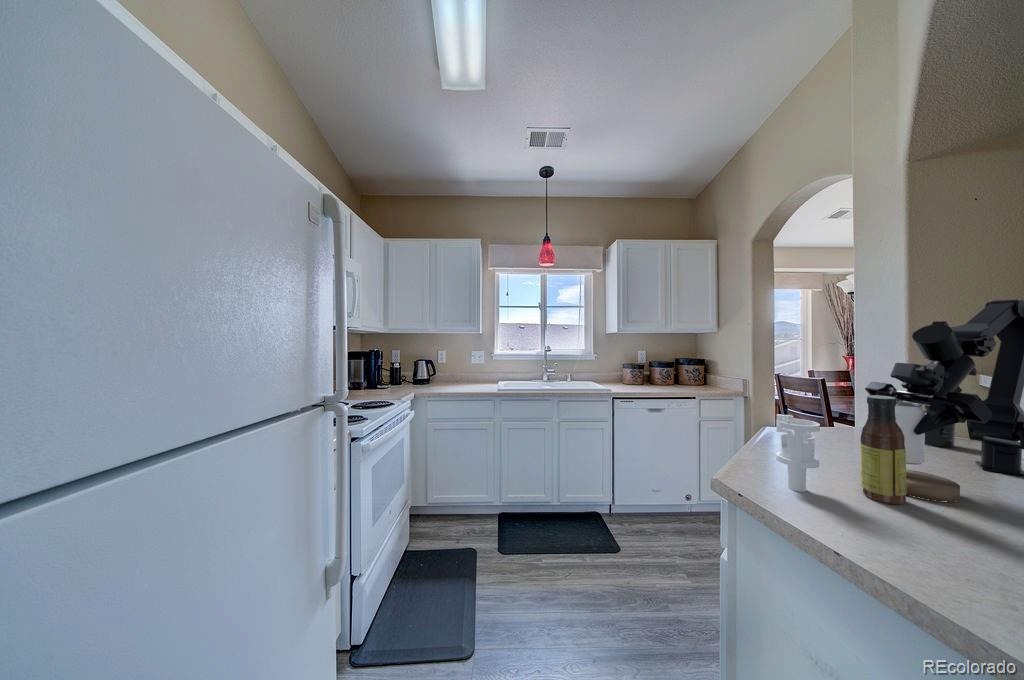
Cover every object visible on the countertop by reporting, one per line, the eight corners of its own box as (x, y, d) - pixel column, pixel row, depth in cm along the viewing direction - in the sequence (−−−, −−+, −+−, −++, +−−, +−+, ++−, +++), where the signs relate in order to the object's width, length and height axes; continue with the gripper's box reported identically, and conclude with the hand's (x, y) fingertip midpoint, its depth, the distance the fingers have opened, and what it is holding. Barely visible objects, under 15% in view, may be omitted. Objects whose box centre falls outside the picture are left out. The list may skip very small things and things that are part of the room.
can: (934, 466, 75) (934, 406, 75) (895, 463, 76) (896, 405, 76) (907, 455, 81) (908, 401, 81) (872, 453, 83) (872, 400, 83)
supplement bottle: (911, 441, 110) (912, 401, 110) (932, 440, 111) (933, 400, 110) (940, 448, 103) (941, 405, 103) (962, 448, 104) (963, 405, 104)
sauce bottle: (893, 494, 74) (895, 394, 74) (915, 508, 68) (917, 400, 68) (852, 489, 76) (854, 393, 76) (870, 502, 70) (872, 398, 70)
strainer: (775, 479, 82) (776, 411, 81) (816, 486, 78) (818, 415, 77) (775, 490, 76) (776, 417, 76) (820, 499, 72) (821, 422, 71)
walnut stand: (877, 475, 84) (877, 464, 84) (951, 488, 77) (952, 476, 77) (883, 491, 75) (883, 479, 75) (967, 508, 68) (967, 494, 68)
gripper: (872, 347, 88) (830, 395, 87) (980, 352, 69) (929, 412, 68) (900, 380, 89) (859, 427, 88) (1014, 392, 71) (964, 453, 70)
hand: (897, 429), depth 78 cm, fingers closed on can, 6 cm apart
